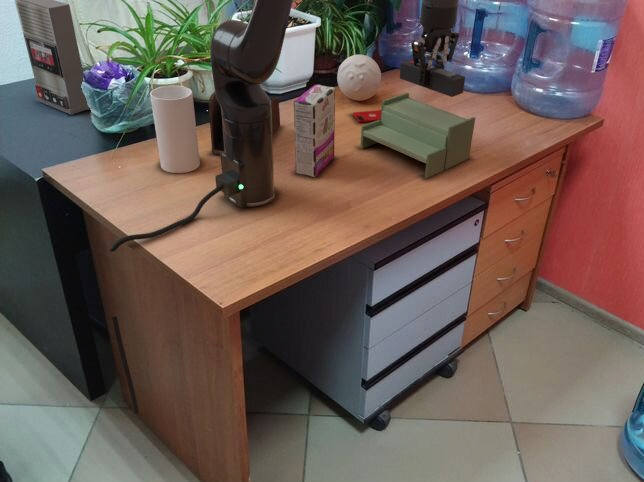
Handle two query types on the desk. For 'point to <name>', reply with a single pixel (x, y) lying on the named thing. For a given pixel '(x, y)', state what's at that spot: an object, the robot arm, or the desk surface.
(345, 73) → the decorative ball
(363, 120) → the electronic device
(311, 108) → the candy bar box
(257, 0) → the robot arm
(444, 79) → the remote
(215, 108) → the letter holder
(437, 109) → the step shelf
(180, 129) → the cup
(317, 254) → the desk surface
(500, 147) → the desk surface
